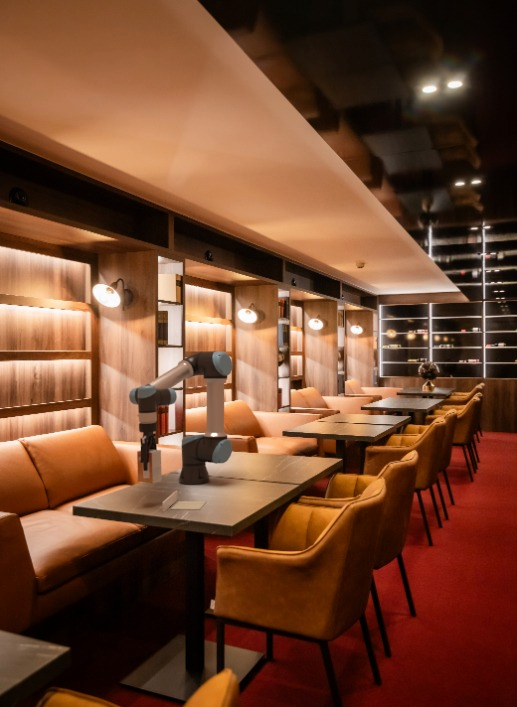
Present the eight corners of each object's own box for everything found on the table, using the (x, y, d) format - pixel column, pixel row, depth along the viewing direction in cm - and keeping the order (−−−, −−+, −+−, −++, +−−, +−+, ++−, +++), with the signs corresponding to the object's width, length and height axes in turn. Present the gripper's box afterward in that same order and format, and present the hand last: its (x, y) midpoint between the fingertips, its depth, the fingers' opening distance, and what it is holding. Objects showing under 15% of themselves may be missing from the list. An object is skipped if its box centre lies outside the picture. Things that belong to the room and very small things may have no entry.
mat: (178, 502, 255) (178, 501, 255) (206, 502, 253) (206, 501, 253) (171, 509, 243) (171, 508, 243) (199, 509, 241) (199, 508, 241)
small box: (137, 481, 250) (136, 451, 250) (147, 478, 255) (146, 448, 255) (152, 483, 246) (151, 452, 246) (162, 480, 252) (161, 449, 251)
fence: (175, 499, 259) (175, 490, 259) (177, 499, 259) (177, 490, 259) (162, 512, 239) (162, 502, 239) (164, 512, 239) (164, 502, 239)
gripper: (147, 419, 261) (148, 470, 261) (130, 425, 241) (132, 481, 241) (163, 418, 260) (165, 470, 260) (148, 425, 240) (150, 481, 240)
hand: (149, 475), depth 251 cm, fingers closed on small box, 8 cm apart
